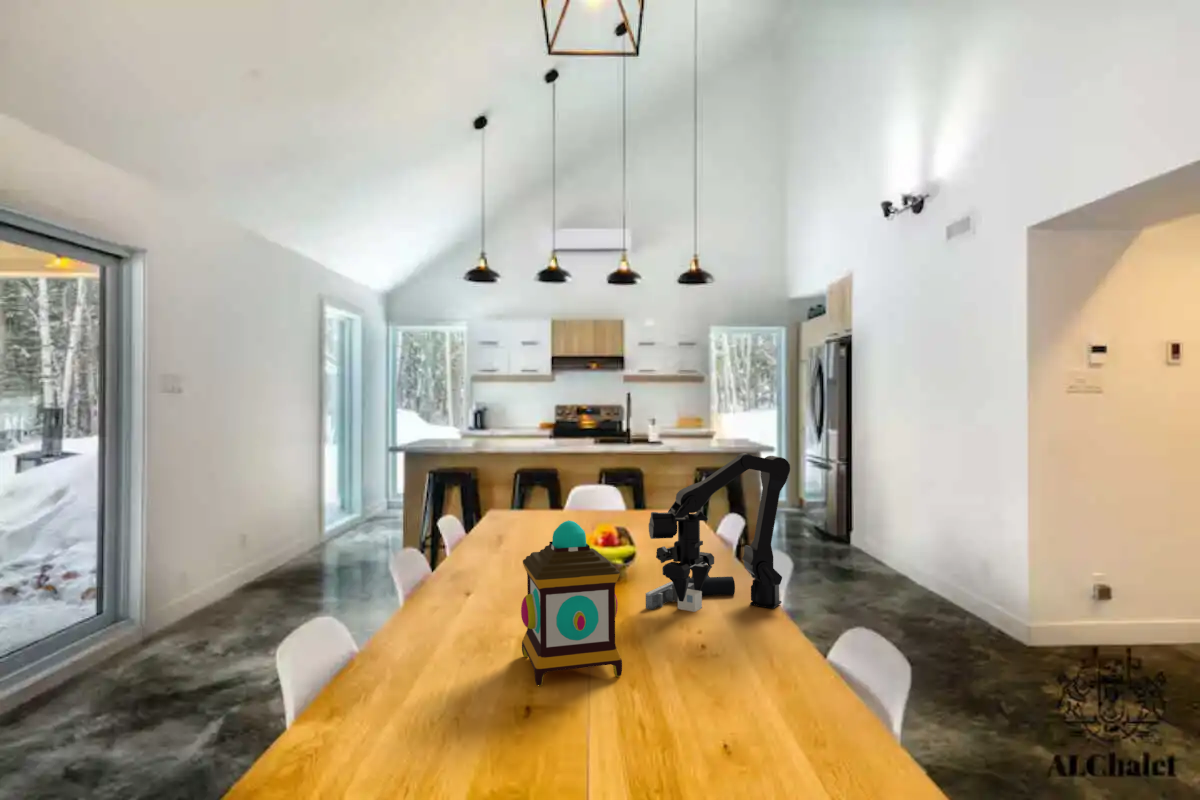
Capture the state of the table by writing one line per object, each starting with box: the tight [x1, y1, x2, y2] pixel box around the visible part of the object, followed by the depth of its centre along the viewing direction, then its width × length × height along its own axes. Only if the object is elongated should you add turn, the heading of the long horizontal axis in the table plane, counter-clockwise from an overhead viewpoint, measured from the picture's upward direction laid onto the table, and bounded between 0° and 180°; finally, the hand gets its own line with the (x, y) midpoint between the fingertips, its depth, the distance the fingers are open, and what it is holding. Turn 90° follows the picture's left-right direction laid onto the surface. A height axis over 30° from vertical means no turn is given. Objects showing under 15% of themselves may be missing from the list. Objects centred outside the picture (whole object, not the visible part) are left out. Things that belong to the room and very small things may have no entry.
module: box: [677, 589, 703, 613], centre depth 181 cm, size 5×4×4 cm
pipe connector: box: [689, 571, 736, 597], centre depth 197 cm, size 12×5×15 cm
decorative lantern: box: [520, 520, 623, 687], centre depth 142 cm, size 20×20×30 cm
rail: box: [645, 581, 675, 611], centre depth 186 cm, size 3×14×4 cm, turn 146°
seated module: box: [672, 583, 695, 603], centre depth 189 cm, size 5×4×4 cm
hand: (689, 597), depth 181 cm, fingers open, 9 cm apart
